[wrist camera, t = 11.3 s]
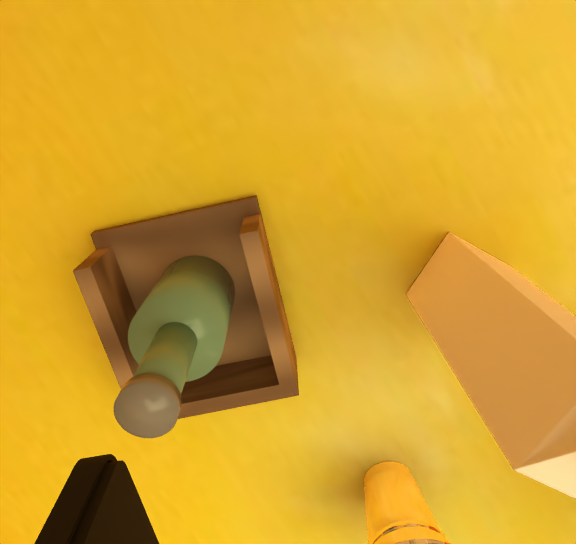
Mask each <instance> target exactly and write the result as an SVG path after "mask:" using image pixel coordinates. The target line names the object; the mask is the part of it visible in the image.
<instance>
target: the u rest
mask: <svg viewBox="0 0 576 544" xmlns="http://www.w3.org/2000/svg"><path fill="white" fill-rule="evenodd" d="M91 237H92V239H93V242H94V245H95V247H96V250H95V251H94V252H93V253H92V254H91V255H90V256H89V257H88V258H87V259H85V260H84V261H83V262H82V263H81V264H80V265H79V266H78V267H77V268H75V269H74V270H73V273H74V275H75V278H76V280H77V282H78V285H79V287H80V290H81V292H82V295H83V297H84V300H85V302H86V304H87V307H88V309H89V312H90V314H91V317H92V319H93V322H94V324H95V327H96V329H97V331H98V334H99V336H100V339H101V341H102V344H103V346H104V349H105V351H106V353H107V356H108V358H109V361H110V363H111V366H112V368H113V371H114V373H115V375H116V378H117V380H118V383H119V385H120V388H121V389H122V387H123V386H124V384H125V383H126V382H127V381H128V380H129V379H130V378H132V377H133V376H134V374H135V372H136V370H137V368H138V366H139V364H138V363H137V362H136V360H135V359H134V357H133V355H132V353H131V351H130V348H129V344H128V330H129V326H130V323H131V321H132V319H133V317H134V316H135V314H136V313H137V311H138V310H139V308H140V307H141V305H142V304H143V302H144V301H145V299H146V298H147V296H148V295H149V293H150V292H151V290H152V289H153V287H154V286H155V284H156V283H157V281H158V280H159V278H160V277H161V275H162V274H163V272H164V271H165V269H166V268H167V267H168V266H169V265H170V264H171V263H172V262H174V261H176V260H178V259H180V258H182V257H186V256H194V255H196V256H204V257H208V258H211V259H213V260H215V261H216V262H218V263H220V264H221V265H222V266H223V267H224V268H225V269H226V270H227V271H228V273H229V274H230V276H231V278H232V280H233V282H234V286H235V299H234V303H233V308H232V312H231V317H230V321H229V326H228V330H227V334H226V339H225V343H224V348H223V352H222V355H221V358H220V360H219V362H218V363H217V365H216V366H215V367H214V368H213V369H212V370H211V371H210V372H209V373H208V374H206V375H205V376H203V377H201V378H199V379H196V380H193V381H189V382H185V384H184V387H183V390H182V393H181V397H182V405H181V409H180V412H179V415H178V418H177V419H180V418H185V417H190V416H195V415H200V414H205V413H211V412H216V411H221V410H226V409H231V408H236V407H241V406H246V405H251V404H257V403H262V402H267V401H272V400H277V399H282V398H287V397H292V396H297V395H299V389H298V375H297V360H296V354H295V350H294V346H293V342H292V338H291V334H290V330H289V326H288V322H287V318H286V314H285V310H284V305H283V301H282V297H281V293H280V289H279V285H278V281H277V277H276V273H275V269H274V265H273V261H272V256H271V252H270V248H269V244H268V240H267V236H266V232H265V228H264V224H263V220H262V216H261V212H260V207H259V203H258V199H257V195H256V196H251V197H247V198H242V199H238V200H233V201H229V202H224V203H220V204H215V205H211V206H206V207H202V208H197V209H193V210H188V211H184V212H179V213H175V214H170V215H166V216H161V217H157V218H152V219H148V220H143V221H139V222H134V223H130V224H125V225H121V226H116V227H111V228H107V229H102V230H98V231H94V232H93V233H92V234H91Z"/></svg>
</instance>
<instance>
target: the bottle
mask: <svg viewBox="0 0 576 544" xmlns="http://www.w3.org/2000/svg"><path fill="white" fill-rule="evenodd" d="M234 299H235V286H234V282H233V280H232V278H231V276H230V274H229V273H228V271H227V270H226V269H225V268H224V267H223V266H222V265H221V264H220V263H218V262H216V261H215V260H213V259H211V258H208V257H204V256H196V255H194V256H186V257H182V258H180V259H178V260H176V261H174V262H172V263H171V264H170V265H169V266H168V267H167V268H166V269H165V271H164V272H163V274H162V275H161V277H160V278H159V280H158V281H157V283H156V284H155V286H154V287H153V289H152V290H151V292H150V293H149V295H148V296H147V298H146V299H145V301H144V302H143V304H142V305H141V307H140V308H139V310H138V311H137V313H136V314H135V316H134V317H133V319H132V321H131V323H130V326H129V330H128V344H129V348H130V351H131V353H132V355H133V357H134V359H135V360H136V362H137V363H138V364H139V366H138V368H137V370H136V372H135V374H134V376H133V377H132V378H130V379H129V380H128V381H127V382H126V383H125V384H124V386H123V387H122V389H121V391H120V393H119V395H118V397H117V399H116V401H115V404H114V415H115V418H116V420H117V422H118V423H119V425H120V426H121V427H122V428H123V429H124V430H125V431H127V432H128V433H130V434H132V435H135V436H137V437H142V438H156V437H160V436H162V435H164V434H166V433H168V432H169V431H170V430H171V429H172V428H173V427H174V425H175V424H176V421H177V418H178V415H179V412H180V409H181V405H182V397H181V393H182V390H183V387H184V384H185V382H189V381H193V380H196V379H199V378H201V377H203V376H205V375H206V374H208V373H209V372H210V371H211V370H212V369H213V368H214V367H215V366H216V365H217V363H218V362H219V360H220V358H221V355H222V352H223V348H224V343H225V339H226V334H227V330H228V326H229V321H230V317H231V312H232V308H233V303H234Z"/></svg>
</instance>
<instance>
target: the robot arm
mask: <svg viewBox="0 0 576 544" xmlns="http://www.w3.org/2000/svg"><path fill="white" fill-rule="evenodd" d="M35 544H159V542H158V540H157V537H156V535H155V533H154V530H153V528H152V526H151V523H150V521H149V518H148V516H147V514H146V511H145V509H144V506H143V504H142V502H141V499H140V497H139V494H138V492H137V490H136V487H135V485H134V482H133V480H132V478H131V475H130V473H129V471H128V468H127V466H126V464H125V462H123V461H117V459H116V458H115V456H113V455H112V454H107V455H101V456H95V457H89V458H83V459H80V460H79V461H78V462H77V463H76V465H75V466H74V468H73V470H72V472H71V474H70V476H69V478H68V480H67V482H66V484H65V486H64V487H63V489H62V491H61V493H60V495H59V497H58V499H57V501H56V503H55V505H54V507H53V509H52V511H51V513H50V515H49V517H48V519H47V520H46V522H45V524H44V526H43V528H42V530H41V532H40V534H39V536H38V538H37V540H36V542H35Z"/></svg>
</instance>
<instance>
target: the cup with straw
mask: <svg viewBox="0 0 576 544" xmlns="http://www.w3.org/2000/svg"><path fill="white" fill-rule="evenodd" d="M364 487H365V491H364V495H365V508H366V521H367V534H368V544H450V542H449V541H448V540H447V538H446V537H445V535H444V534H443V532H442V531H441V530H440V529H439V527H438V525H437V523H436V521H435V519H434V517H433V515H432V513H431V511H430V509H429V507H428V505H427V503H426V501H425V499H424V497H423V495H422V493H421V491H420V489H419V487H418V485H417V483H416V481H415V480H414V479H413V477H412V474H411V472H410V470H409V469H408V468H407V467H406V466H405V465H403V464H401V463H398V462H394V461H387V462H382V463H378V464H376V465H374V466H373V467H372V468H370V469H369V470H368V471H367V473H366V475H365V477H364Z"/></svg>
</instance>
